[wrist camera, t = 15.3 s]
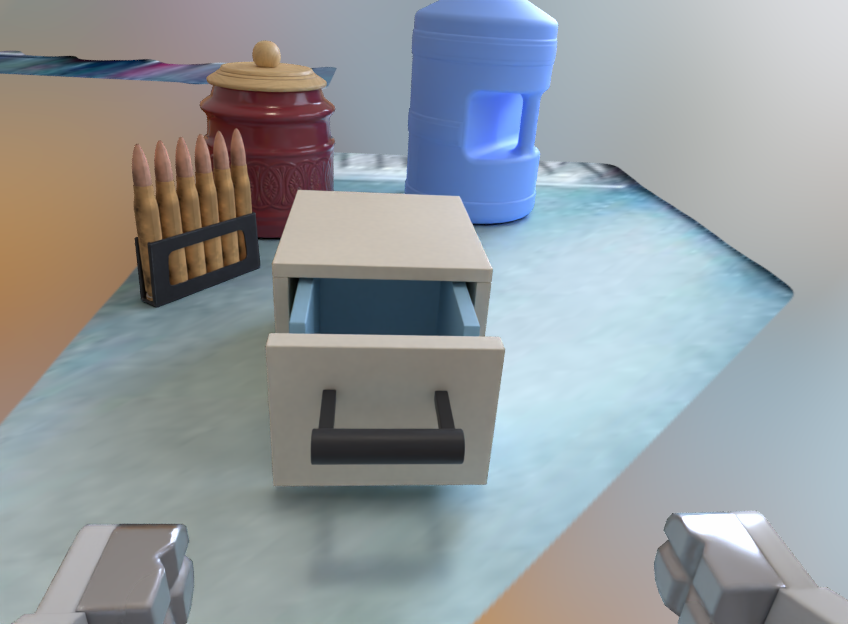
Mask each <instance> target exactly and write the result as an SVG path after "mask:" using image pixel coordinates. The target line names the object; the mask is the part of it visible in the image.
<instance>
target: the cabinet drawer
mask: <svg viewBox="0 0 848 624" xmlns="http://www.w3.org/2000/svg"><path fill="white" fill-rule="evenodd" d="M479 333H480V325H479V322H478V319H477V316H476V313H475V310H474V307H473V304H472V301H471V298H470V295H469V292H468V289H467V286H466V283H465V282H462V281H421V280H381V279H341V278H299V282H298V287H297V291H296V295H295V299H294V304H293V308H292V312H291V316H290V320H289V333H270V334H269V336H268V339H267V343H266V346H265V350H266V367H267V384H268V401H269V419H270V436H271V453H272V470H273V485H274V486H387V485H486V484H487V477H488V470H489V463H490V456H491V448H492V441H493V434H494V427H495V420H496V412H497V405H498V398H499V391H500V384H501V376H502V369H503V362H504V355H505V348H504V345H503V343H502V340H501V338H500V337H481V336H479Z"/></svg>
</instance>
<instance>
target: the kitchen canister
mask: <svg viewBox="0 0 848 624" xmlns="http://www.w3.org/2000/svg"><path fill="white" fill-rule="evenodd" d="M252 54H253V55H252V56H253V61H254V62H235V63H227V64H223V65H221V67H220V69H218V70H217V71H216V72H214V73H212V74H211V75H209V76H208V77H207V82H208V83H209V84H211V85H213V87H212V90H211V94H210V95H209V96H207V97H206V98H205V99H203V100H202V101H201V102H200V108H201V109H202V110H203V111H204V112H205V113H206V115H207V134H206V135H205V136H204V139H205V141H206V144H207V147H208V150H209V154H210V159H211V167H212V173H213V180H214V170H213V168H214V163H213V148H214V141H215V136H216V134H217V132H218V131H220V132H221V134H222V136H223V138H224V141H225V144H226V147H227V152H228V157H229V167H230V172H231V140H232V135H233V132H234V130H235V129H236V128H237V129H238V130H239V132H240V135H241V137H242V140H243V144H244V149H245V155H246V164H247V173H248V177H249V181H250V189H251V204H252V212H255V213H256V223H257V234H258V237H262V238H281V237H282V234H283V231H284V228H285V225H286V222H287V220H288V217H289V214H290V211H291V208H292V205H293V202H294V200H295V197H296V194H297V191H298V190H314V191H334V166H333V149H334V145H335V140H334V138H333V137H332V136H331V132H330V117H331V115H332V114H333V113H334V111H335V106H334V105H333V104H332V103H331V102H329V101H328V100H327V99H325V98H324V95H323V93H322V90H321V89H322V88H324V87H325V86H326V85H327V83H326V81H325V80H324V79H322V78H321V77H319V76H318V75H316V74H315V73H314V72H313V70H312V69H311V68H309V67H305V66H300V65H294V64H284V63H280V57H281V55H280V51H279V49H278V47H277V45H276V44H274V43H273V42H271V41H260V42H258V43H257V44H256V45H255V47H254V49H253V53H252Z"/></svg>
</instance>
